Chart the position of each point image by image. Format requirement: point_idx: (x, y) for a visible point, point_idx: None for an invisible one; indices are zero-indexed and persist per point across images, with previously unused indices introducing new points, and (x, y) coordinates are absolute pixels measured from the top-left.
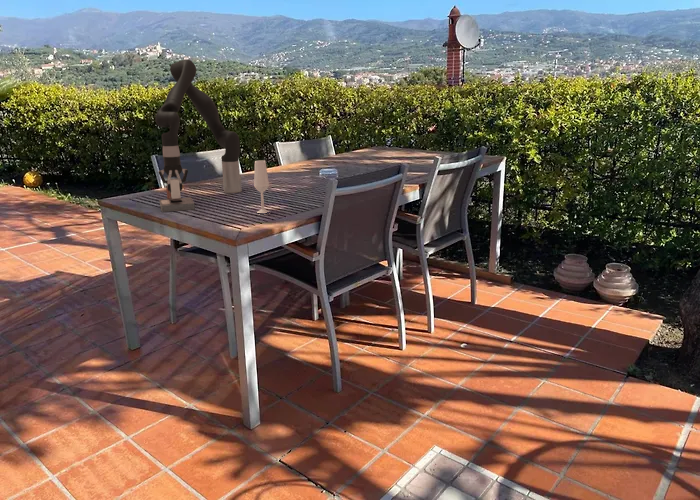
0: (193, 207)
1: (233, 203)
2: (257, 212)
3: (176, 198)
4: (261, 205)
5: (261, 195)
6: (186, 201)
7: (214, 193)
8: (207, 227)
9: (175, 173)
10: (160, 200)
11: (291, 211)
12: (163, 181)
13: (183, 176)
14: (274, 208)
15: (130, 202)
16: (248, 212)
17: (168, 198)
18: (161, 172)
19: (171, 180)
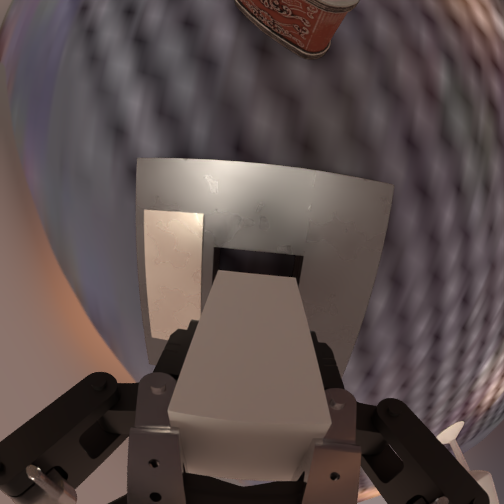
0: None
1: (498, 301)
2: (438, 439)
3: (295, 42)
4: (453, 449)
5: None
6: (319, 322)
7: (490, 25)
8: None
9: None
10: (142, 189)
11: (483, 424)
12: (104, 427)
13: (402, 458)
14: (493, 398)
15: (53, 26)
16: (434, 428)
17: (242, 3)
18: (44, 501)
19: (200, 470)
